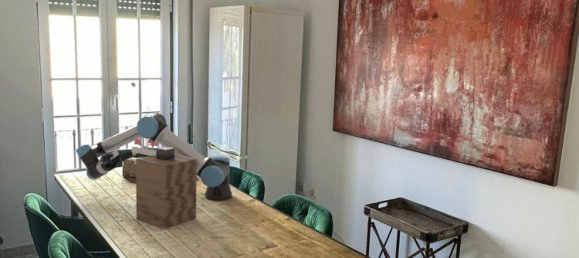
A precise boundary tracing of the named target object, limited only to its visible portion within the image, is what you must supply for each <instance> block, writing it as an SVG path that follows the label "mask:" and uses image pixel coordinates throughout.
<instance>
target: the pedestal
mask: <svg viewBox="0 0 579 258" xmlns="http://www.w3.org/2000/svg"><path fill="white" fill-rule="evenodd" d="M135 172H136V173H135V178H136V179H135V185H136V186H135V187H136V188H135V191H136V193H135V198H136V199H135V203H136V204H135V206H136V208H135V209H136V212H135V213H136V215H135V218H136V220H137V221H140V222H142V223H146V224H148V225H151V226H153V227H156V228H159V229H163V230H166V229H170V228H172V227H175V226H178V225H181V224H183V223H187V222H190V221H194V220H195V219H197V185H198V184H197V180H198V179H197V159H195V158H190V157H186V156H182V155H177V154H174V159H169V160H161V159H157V158H156V157H153V156H149V155H147V156H144V157H143V156H142V157H137V158H136V159H135Z"/></svg>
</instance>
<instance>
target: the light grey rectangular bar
mask: <svg viewBox="0 0 579 258" xmlns="http://www.w3.org/2000/svg"><path fill="white" fill-rule="evenodd" d="M144 146H145V145H144ZM144 146H143V145H142V146H140V145H135V144H134V145H132V146H131V151H132V152H136V153H137V154H141V155H146V156H153V157H156V158H157V159H161V160H169V159H174V148H171V147H164V146H161V147H156V148H154V147H153V148H152V147H148V146H146V147H144Z"/></svg>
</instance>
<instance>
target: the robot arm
mask: <svg viewBox="0 0 579 258" xmlns="http://www.w3.org/2000/svg"><path fill="white" fill-rule="evenodd" d="M141 138H143V139H146V140H149V139H150V140H151V141H153V142H154V143H158V144H160V145H162V147H171V148H174V154H177V155H182V156H186V157H190V158H195V159H197V176H198V177H199V178H200V180H201V183H202V184H203V185H204V186H205V187H206V190H205V192H204V197H205V199H207V200H211V201H225V200H230V199H232V198H233V192H232V190H231V184H230V164H231V159H230V158H229V157H227V156H208V157H205V156H204V155H202V154H201V153H200V152H199V151H197V150H196V149H195V148H193V146H191V145H190V144H189V143H187V142H186V141H185V140H183V139H182V138H181V137H179V136H178V135H177V134H175V133H174V132H173V131H171V130H170V126H169V125H168V124H167V120H166V117H165V116H164V115H163V114H161V113H159V112H152V113H150V114H146V115H143V116H142V117H141V118H139V120H138V121H137V123H136V124H135V125H133V126H131V127H128V128H127V129H125V130H122V131H120V132H118V133H116V134H114V135H111V136H109V137H108V138H105V139H103V140H101V141H99V142H97V143H94V144H93V145H90V144H89V143H84V144H83V145H81V146H79V147H78V148H77V149H76V150H75V151H76V154H77V156H78V157H79V159H80V160H81V162H82V163H83V164H84V166H85V167H86V176H87V178H88V179H89V180H92V181H94V180H97V179H100V178H101V177H103V176H105V175H108V173H109V172H112V171H113V170H114V169H115V168H117V165H118V164H120V163H123V162H125V161H128V160H130V159H132V158H134V157H136V156H138V153H136V152H132V150H131V151H130V152H125V153H124V154H119V151H118V149H120V148H122V147H124V146H126V145H128V144H131V143H132V142H133V143H134V141H135V140H137V139H141ZM105 155H106V156H105ZM100 157H101V159H99V158H100Z"/></svg>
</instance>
